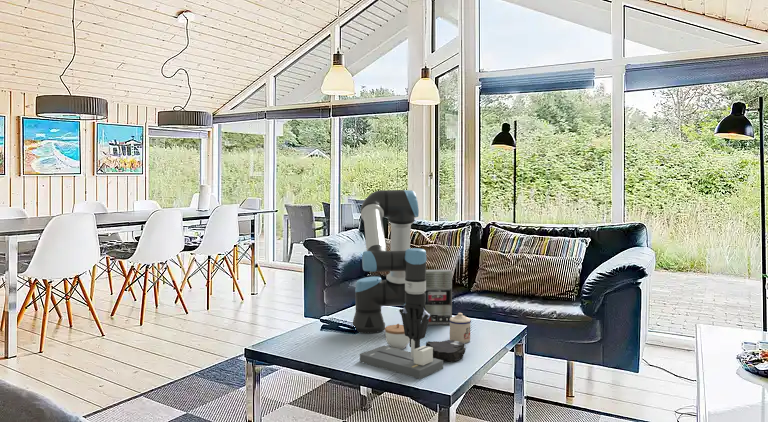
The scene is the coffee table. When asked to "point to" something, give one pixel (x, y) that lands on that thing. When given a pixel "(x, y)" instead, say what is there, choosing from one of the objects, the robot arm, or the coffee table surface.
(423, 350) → the fader knob
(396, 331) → the lidded jar
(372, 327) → the robot arm
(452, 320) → the teacup with lid
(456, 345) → the rock sample
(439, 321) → the cassette tape recorder
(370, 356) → the fader console
